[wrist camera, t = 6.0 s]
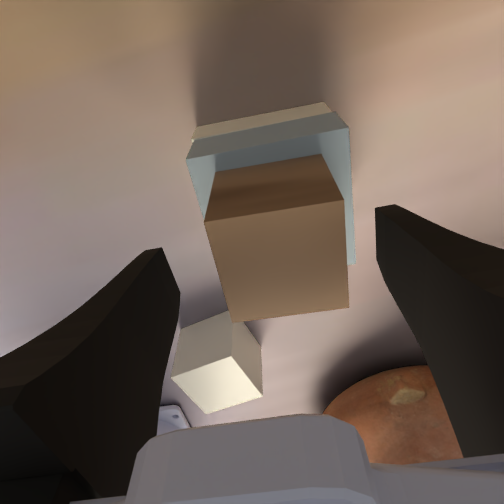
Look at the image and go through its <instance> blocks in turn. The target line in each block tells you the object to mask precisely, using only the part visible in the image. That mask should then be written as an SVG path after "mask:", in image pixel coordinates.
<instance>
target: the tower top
mask: <svg viewBox="0 0 504 504" xmlns="http://www.w3.org/2000/svg"><path fill="white" fill-rule="evenodd" d="M316 154H322V156H323V158H324V160H325V162H326V164H327V166H328V168H329V170H330V172H331V174H332V176H333V178H334V180H335V182H336V184H337V186H338V188H339V190H340V192H341V194H342V196H343V198H344V205H345V227H346V249H347V265H352V264H356V254H355V235H354V216H353V197H352V178H351V160H350V141H349V127H348V126H347V125H346V124H345V122H344V121H343V120H342V119H341V118H340V117H339V115H338V114H337V113H336V112H330V113H325V114H320V115H315V116H310V117H305V118H301V119H296V120H291V121H286V122H281V123H276V124H271V125H266V126H261V127H256V128H251V129H246V130H242V131H237V132H232V133H227V134H222V135H217V136H212V137H207V138H202V139H197V140H194V142H193V144H192V146H191V149H190V151H189V153H188V155H187V158H186V163H187V166H188V169H189V173H190V176H191V179H192V182H193V186H194V189H195V192H196V196H197V199H198V202H199V205H200V209H201V212H202V215H203V219H205V214H206V210H207V206H208V201H209V197H210V193H211V188H212V184H213V180H214V175H215V172H218V171H224V170H230V169H235V168H241V167H247V166H253V165H258V164H264V163H270V162H276V161H282V160H287V159H293V158H299V157H305V156H310V155H316Z"/></svg>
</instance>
